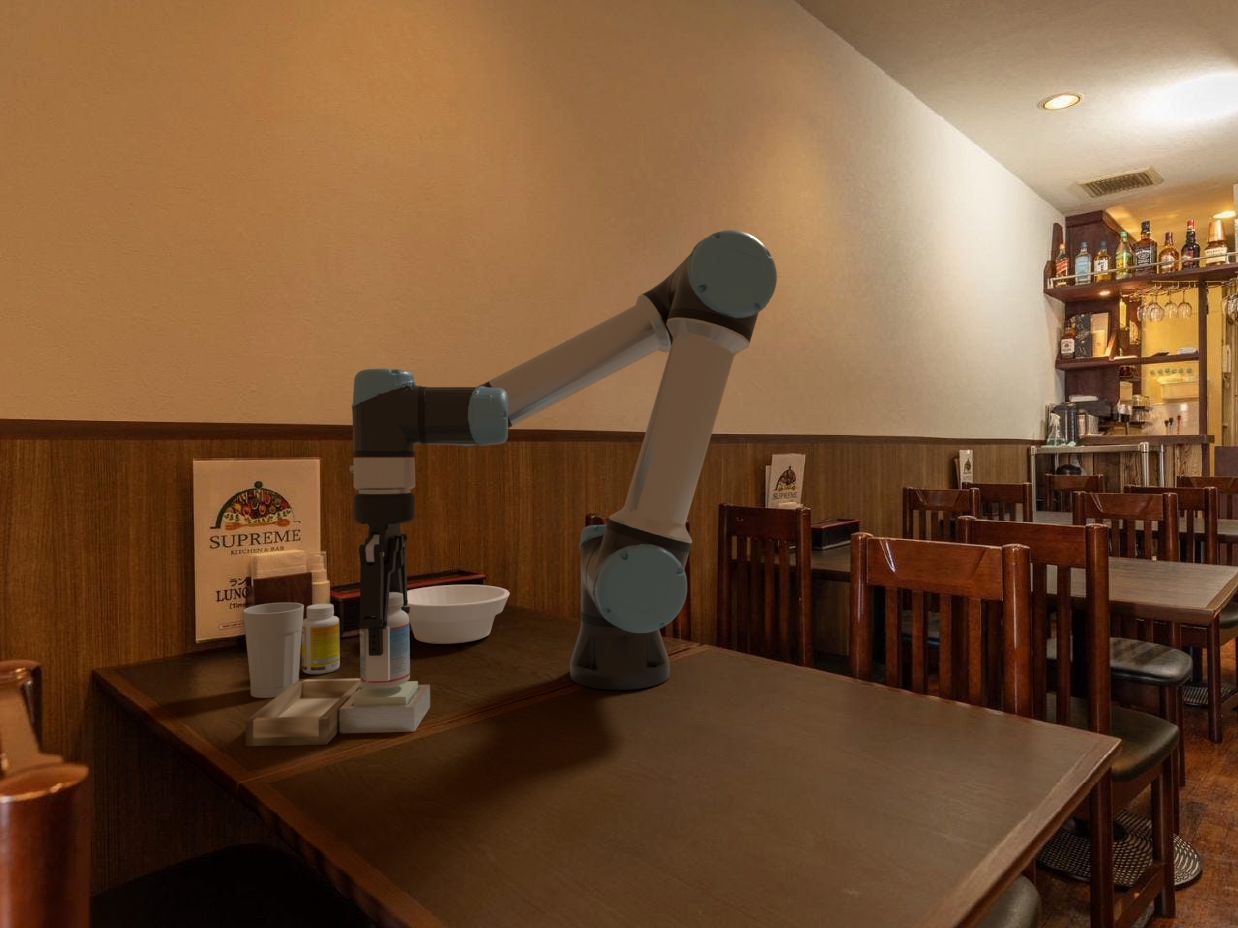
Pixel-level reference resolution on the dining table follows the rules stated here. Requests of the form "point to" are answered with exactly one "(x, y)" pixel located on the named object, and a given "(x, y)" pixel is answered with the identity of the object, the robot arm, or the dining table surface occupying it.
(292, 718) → the trough
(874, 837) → the dining table surface
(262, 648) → the cup
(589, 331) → the robot arm
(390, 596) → the pill bottle
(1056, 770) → the dining table surface
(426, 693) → the white note holder
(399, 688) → the pad
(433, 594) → the bowl
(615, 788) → the dining table surface
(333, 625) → the supplement bottle
